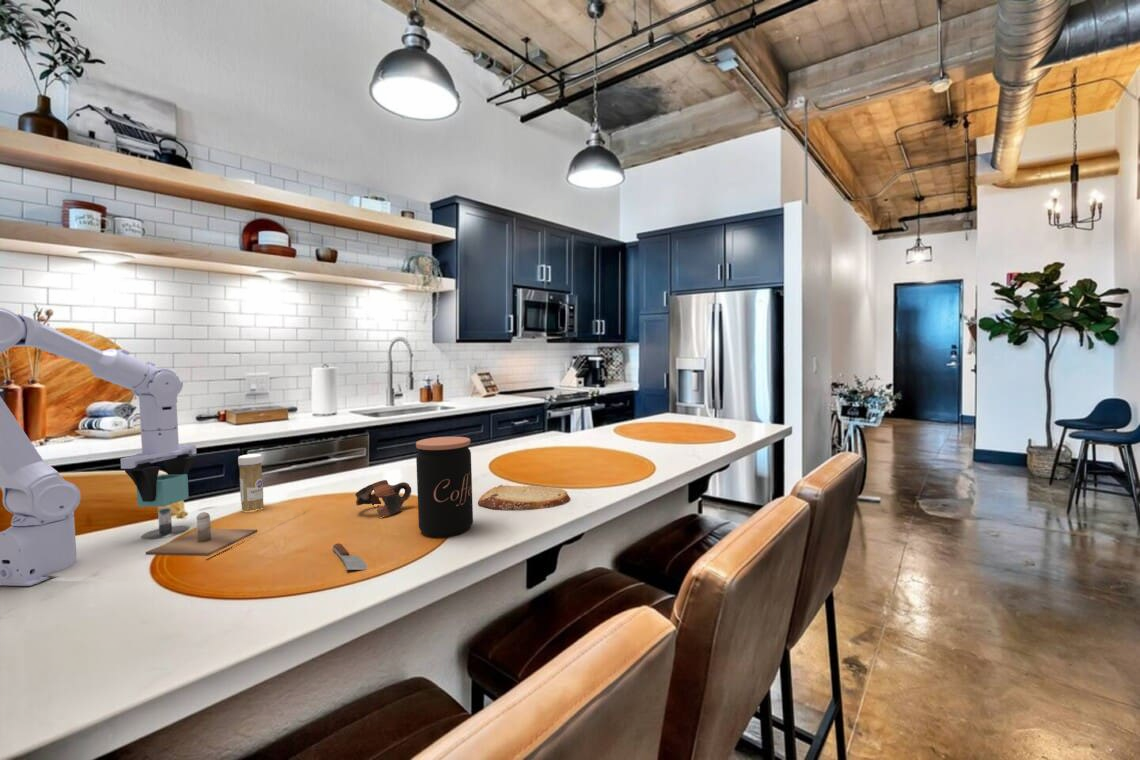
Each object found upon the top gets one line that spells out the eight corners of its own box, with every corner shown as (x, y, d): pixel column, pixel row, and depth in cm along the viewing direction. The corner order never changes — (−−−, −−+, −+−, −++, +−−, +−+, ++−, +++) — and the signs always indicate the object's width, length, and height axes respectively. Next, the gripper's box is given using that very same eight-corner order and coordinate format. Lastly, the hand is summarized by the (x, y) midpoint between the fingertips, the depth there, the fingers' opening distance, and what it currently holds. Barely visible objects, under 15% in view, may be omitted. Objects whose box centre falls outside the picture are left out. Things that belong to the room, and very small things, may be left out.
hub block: (208, 559, 87) (206, 523, 87) (145, 558, 89) (143, 522, 88) (257, 535, 99) (256, 503, 99) (202, 534, 100) (200, 502, 100)
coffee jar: (433, 543, 93) (430, 447, 92) (409, 529, 101) (406, 441, 100) (483, 529, 100) (480, 440, 99) (457, 517, 108) (454, 434, 107)
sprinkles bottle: (258, 515, 112) (255, 456, 112) (236, 517, 112) (233, 457, 111) (268, 509, 117) (265, 452, 116) (247, 510, 116) (244, 453, 116)
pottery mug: (368, 525, 106) (353, 490, 108) (364, 532, 114) (350, 499, 115) (421, 500, 113) (406, 467, 114) (414, 509, 120) (400, 478, 122)
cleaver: (376, 565, 83) (344, 565, 80) (374, 574, 82) (342, 575, 80) (361, 542, 94) (332, 542, 91) (360, 550, 94) (331, 550, 91)
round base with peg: (166, 543, 96) (164, 515, 96) (130, 542, 97) (128, 514, 97) (199, 529, 104) (197, 503, 103) (165, 529, 104) (164, 503, 104)
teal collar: (163, 506, 97) (162, 481, 97) (137, 506, 97) (136, 480, 97) (188, 498, 102) (187, 474, 102) (163, 498, 103) (162, 474, 103)
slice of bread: (576, 501, 119) (576, 485, 119) (521, 520, 106) (520, 503, 106) (526, 489, 132) (525, 475, 131) (470, 505, 118) (469, 489, 118)
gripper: (143, 434, 92) (147, 507, 92) (208, 424, 106) (211, 487, 107) (108, 434, 92) (113, 507, 93) (177, 424, 107) (181, 487, 107)
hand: (163, 496), depth 100 cm, fingers closed on teal collar, 6 cm apart
